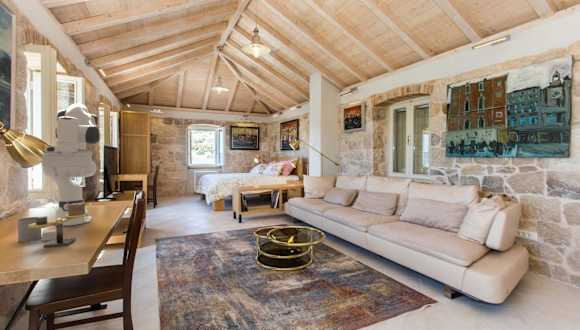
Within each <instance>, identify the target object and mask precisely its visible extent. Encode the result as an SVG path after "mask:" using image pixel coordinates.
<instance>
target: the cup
mask: <svg viewBox="0 0 580 330" xmlns="http://www.w3.org/2000/svg"><path fill="white" fill-rule="evenodd" d="M37 217H38V216H30V217H23V218H19V219H17V233H18V234H17V236H18V237H17V241H18V242H31V241H35V240H39V239H41V238H42V228H28V225H30V224H33V223H36V218H37Z"/></svg>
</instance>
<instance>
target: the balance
mask: <svg viewBox="0 0 580 330" xmlns="http://www.w3.org/2000/svg"><path fill="white" fill-rule="evenodd" d="M85 216H90V215H89V212H87V213H84V214H82V215H73V216H68V214H67V215H65V218H68V219H64V220H63V219H57V220H56V222H55V221H48V216H36V217H37V218H36V223H33V224H30V225H28V228H41V229H43V228H48V227H51V226H52V227H53V226H55V224H56V227H55V229H56V239H52V240H48V242H46V243H44V244H43V246H42V247H43V248H45V249H46V248H55V247H66V246H67V247H68V246H69V245H71V244H72V243H74V242H75V241H76V237H67V238H64V226H63V223H64V222H66V221H70V220H73V219H77V218H79V217H85Z"/></svg>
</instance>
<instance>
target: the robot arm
mask: <svg viewBox="0 0 580 330" xmlns="http://www.w3.org/2000/svg"><path fill="white" fill-rule="evenodd" d="M55 120H56V128H55V138H56V139H57V140H56V144H55V145H51V146H46V147H44V150H43V151H44V153H43V154H42V159H41V165H42V171H43V173H44V175H45V176H46V177H48V178H50V179H51V180H52V181H54V183H55V184H56V186H57V188H58V195H59V200H58V203H57V204H58V208H57V209H56V210H55V216H54V219H55V220H54V222H56V220H57V219H63V220H64V219H68V218H65V215H67V214H68V205H70V204H72V203H85V198H83V187H82V185H81V184H78V183H76V182H74V181H72V180H71V178H87V177H92V176H94V175H95V173H97V169H98V168H97V164H96V163H95V162H94V161H93V156H94V153H93V151H92V150H90V149H88V148H87V144H88V145H89V144H90V145H95V144H97V143H99V142H100V140H101V137H102V136H101V131H100V129H99V126H100V118H99V117H98V115H96V114H94V113H93V114H92V113H89V109H88V108H87V107H86V106H85V105H84V104H81V103H72V104H71V105H70V106H69V107H68V108H65V109H61V110H59V111H58V112H57V113H56V115H55ZM85 213H88V208H86V207H85ZM92 218H93V217H92V216H90V215H88V216H85V217H79V218H77V219H73V220H70V221H66V222H64V223H63V227H64V226H67V227H68V226H75V225H81V224H87V223H90V222H91V221H92ZM55 225H56V224H55ZM55 225H54V226H55Z"/></svg>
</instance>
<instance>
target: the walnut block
mask: <svg viewBox="0 0 580 330" xmlns="http://www.w3.org/2000/svg"><path fill="white" fill-rule="evenodd" d="M85 208H86V203H85V202H84V203H72V204H70V205H68V216H73V215H82V214H84V213H85Z"/></svg>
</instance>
